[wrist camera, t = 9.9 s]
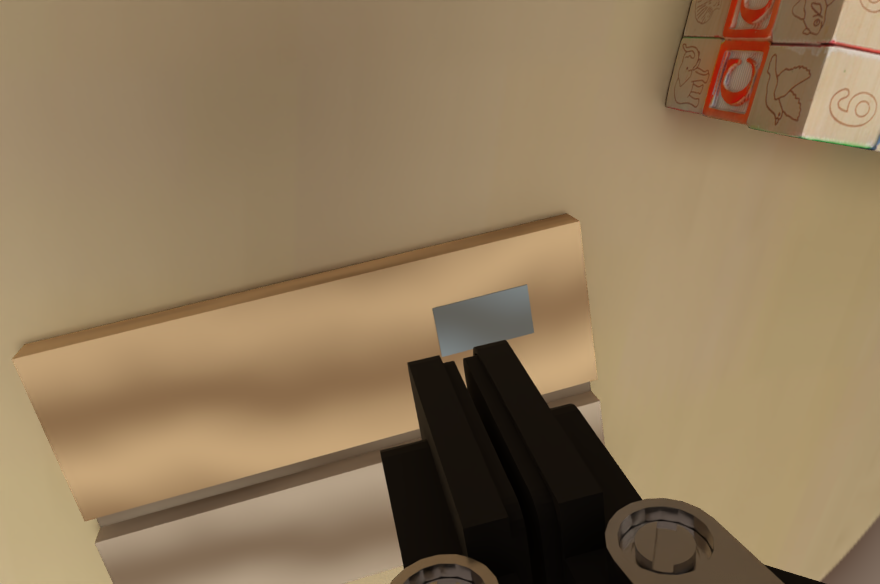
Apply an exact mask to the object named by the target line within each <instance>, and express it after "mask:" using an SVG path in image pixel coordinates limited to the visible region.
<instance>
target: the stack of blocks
mask: <svg viewBox="0 0 880 584" xmlns="http://www.w3.org/2000/svg"><path fill="white" fill-rule="evenodd" d="M666 107H668V108H672V109H676V110H681V111H687V112H692V113H698V114H703V116H706V117H711V118H716V119H721V120H726V121H731V122H736V123H741V124H746V125H748V127H749V128H752V129H756V130H761V131H766V132H771V133H776V134H781V135H785V136H790V137H796V138H801V139H807V140H814V141H820V142H826V143H833V144H840V145H845V146H851V147H856V148H861V149H866V150H871V151H876V152H880V0H692V4H691V7H690V11H689V15H688V19H687V23H686V27H685V31H684V37H683V39H682V40H681V43H680V47H679V51H678V55H677V59H676V63H675V67H674V71H673V75H672V79H671V82H670V87H669V91H668V96H667V102H666Z"/></svg>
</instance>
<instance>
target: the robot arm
mask: <svg viewBox="0 0 880 584" xmlns="http://www.w3.org/2000/svg"><path fill="white" fill-rule="evenodd" d="M407 365H408V372H409V377H410V382H411V387H412V392H413V397H414V403H415V408H416V413H417V418H418V423H419V428H420V433H421V439H422V440H420V441H416V442H412V443H408V444H404V445H400V446H396V447H392V448H388V449H384V450H380V454H381V459H382V464H383V469H384V474H385V479H386V484H387V489H388V494H389V498H390V503H391V508H392V513H393V518H394V523H395V528H396V532H397V537H398V542H399V547H400V552H401V557H402V562H403V566H404V570H402V571H401V572H400V573H399V574H398V575H397V576H396V577H395V578H394V579H393V580H392V582H391V583H390V584H825V583H822V582H819V581H815V580H812V579H809V578H806V577H803V576H799V575H796V574H793V573H790V572H786V571H783V570H780V569H777V568H773V567H770V566H767V565H764V564H763V563H761V562H760V561H759V560H758V559H757V558H756V557H755V556H754V555H753V554H752V553H751V552H750V551H749V550H747V549H746V548H745V547H744V546H743V545H742V544H741V543H740V542H739V541H738V540H737V539H736V538H734V537H733V536H732V535H731V534H730V533H729V532H728V531H727V530H726V529H725V528H724V527H723V526H721V525H720V524H719V523H718V522H717V521H716V520H715V519H714V518H713V517H711V516H710V515H708V514H707V513H706V512H704V511H703V510H701V509H700V508H698V507H695V506H693V505H690V504H688V503H685V502H683V501H677V500H672V499H666V498H657V499H644V500H642V499H641V497H640V496H639V494H638V493H637V492H636V490H635V489H634V487H633V486H632V484H631V483H630V482H629V480H628V479H627V477H626V476H625V475H624V473H623V472H622V470H621V469H620V467H619V466H618V465H617V463H616V462H615V460H614V459H613V457H612V456H611V455H610V453H609V452H608V450H607V449H606V447H605V446H604V445H603V443H602V442H601V440H600V439H599V438H598V436H597V435H596V433H595V432H594V430H593V429H592V428H591V426H590V425H589V423H588V422H587V420H586V419H585V418H584V416H583V415H582V413H581V412H580V410H579V409H578V408H577V407H576V406H575V405H574V404H571V403H570V404H566V405H562V406H558V407H554V408H549V406H548V405H547V403H546V401H545V400H544V398H543V397H542V395H541V394H540V392H539V390H538V389H537V387H536V386H535V384H534V383H533V381H532V379H531V378H530V376H529V375H528V373H527V371H526V370H525V368H524V367H523V365H522V364H521V362H520V360H519V359H518V357H517V356H516V354H515V353H514V351H513V349H512V348H511V346H510V345H509V343H508V342H507V341H506V340H502V341H497V342H493V343H489V344H484V345H480V346H476V347H474V348H473V356H471V357H467V358H463V366H464V373H465V379H466V385H465V383H464V381H463V379H462V377H461V374H460V372H459V370H458V368H457V366H456V364H455V362H454V361H449V362H445V363H443V362H442V359H441V357H440V355H437V356H433V357H429V358H424V359H420V360H416V361H411V362H407ZM466 386H467V388H466Z"/></svg>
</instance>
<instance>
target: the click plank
mask: <svg viewBox="0 0 880 584" xmlns="http://www.w3.org/2000/svg"><path fill="white" fill-rule="evenodd" d="M502 340H506V341H507V342H508V343H509V345H510V346H511V348H512V349H513V351H514V353H515V354H516V356H517V357H518V359H519V360H520V362H521V364H522V365H523V367H524V368H525V370H526V371H527V373H528V375H529V376H530V378H531V379H532V381H533V383H534V384H535V386H536V387H537V389H538V390H539V392H540V394H541V395H543V394H546V393H550V392H554V391H557V390H561V389H564V388H568V387H572V386H575V385H579V384H583V383H586V382H590V381H593V380H597V379H598V378H597V369H596V360H595V351H594V342H593V334H592V325H591V316H590V307H589V298H588V290H587V281H586V272H585V263H584V254H583V245H582V237H581V228H580V221H579V220H577V219H575V218H573V217H572V216H570V215H568V214H563V215H559V216H555V217H550V218H546V219H542V220H538V221H534V222H530V223H526V224H521V225H517V226H513V227H509V228H505V229H501V230H496V231H492V232H488V233H484V234H480V235H476V236H472V237H467V238H463V239H459V240H455V241H451V242H447V243H443V244H438V245H434V246H430V247H426V248H422V249H418V250H414V251H409V252H405V253H401V254H397V255H393V256H389V257H385V258H380V259H376V260H372V261H368V262H364V263H360V264H356V265H351V266H347V267H343V268H339V269H335V270H331V271H326V272H322V273H318V274H314V275H310V276H306V277H302V278H297V279H293V280H289V281H285V282H281V283H277V284H273V285H268V286H264V287H260V288H256V289H252V290H248V291H244V292H239V293H235V294H231V295H227V296H223V297H219V298H215V299H210V300H206V301H202V302H198V303H194V304H190V305H186V306H181V307H177V308H173V309H169V310H165V311H161V312H157V313H152V314H148V315H144V316H140V317H136V318H132V319H127V320H123V321H119V322H115V323H111V324H107V325H103V326H98V327H94V328H90V329H86V330H82V331H78V332H74V333H69V334H65V335H61V336H57V337H53V338H49V339H45V340H40V341H36V342H32V343H28V344H25V345H24V346H23V347H22V348H21V349H20V350H19V352H18V353H17V354H16V355H15V356H14V358H13V359H12V361H13V363H14V365H15V367H16V370H17V372H18V374H19V376H20V378H21V381H22V383H23V385H24V387H25V390H26V392H27V394H28V396H29V399H30V401H31V403H32V405H33V407H34V410H35V412H36V414H37V416H38V419H39V421H40V423H41V425H42V427H43V430H44V432H45V434H46V436H47V439H48V441H49V443H50V445H51V447H52V450H53V452H54V454H55V456H56V459H57V461H58V463H59V465H60V467H61V470H62V472H63V474H64V476H65V479H66V481H67V483H68V485H69V487H70V490H71V492H72V494H73V496H74V499H75V501H76V503H77V505H78V507H79V510H80V512H81V514H82V516H83V519H84V521H88V520H92V519H95V518H99V517H102V516H106V515H110V514H113V513H117V512H120V511H124V510H128V509H131V508H135V507H138V506H142V505H146V504H149V503H153V502H157V501H160V500H164V499H167V498H171V497H175V496H178V495H182V494H185V493H189V492H193V491H196V490H200V489H203V488H207V487H211V486H214V485H218V484H221V483H225V482H229V481H232V480H236V479H240V478H243V477H247V476H250V475H254V474H258V473H261V472H265V471H268V470H272V469H276V468H279V467H283V466H286V465H290V464H294V463H297V462H301V461H305V460H308V459H312V458H315V457H319V456H323V455H326V454H330V453H333V452H337V451H341V450H344V449H348V448H351V447H355V446H359V445H362V444H366V443H370V442H373V441H377V440H380V439H384V438H388V437H391V436H395V435H398V434H402V433H406V432H409V431H413V430H416V429H420V428H419V423H418V418H417V413H416V408H415V403H414V397H413V392H412V387H411V382H410V377H409V372H408V365H407V362H411V361H416V360H420V359H424V358H429V357H433V356H437V355H440V357H441V359H442V362H443V363H445V362H449V361H454V362H455V364H456V366H457V368H458V370H459V372H460V374H461V377H462V379H463V381H464V383H465V385H466V379H465V373H464V366H463V358H467V357H471V356H473V348H474V347H476V346H480V345H484V344H489V343H493V342H497V341H502ZM466 388H467V386H466Z"/></svg>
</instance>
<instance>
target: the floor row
mask: <svg viewBox="0 0 880 584" xmlns="http://www.w3.org/2000/svg"><path fill="white" fill-rule="evenodd" d="M542 397H543V398H544V400H545V401H546V403H547V405H548V406H549V408H554V407H558V406H562V405H566V404H570V403H571V404H574V405H575V406H576V407H577V408H578V409H579V410H580V412H581V413H582V415H583V416H584V418H585V419H586V420H587V422H588V423H589V425H590V426H591V428H592V429H593V430H594V432H595V433H596V435H597V436H598V438H599V439H600V440H601V442H602V443H603V445H604V446H605V443H604V434H603V424H602V415H601V406H600V400H599V399H598V398H597V397H596V396H595V395H594V394H593V393H592V391H591V388H590V382H586V383H583V384H579V385H575V386H572V387H568V388H564V389H561V390H557V391H554V392H550V393H546V394H543V395H542ZM420 440H422V439H421V433H420V429H416V430H413V431H409V432H406V433H402V434H398V435H395V436H391V437H388V438H384V439H380V440H377V441H373V442H370V443H366V444H362V445H359V446H355V447H351V448H348V449H344V450H341V451H337V452H333V453H330V454H326V455H323V456H319V457H315V458H312V459H308V460H305V461H301V462H297V463H294V464H290V465H286V466H283V467H279V468H276V469H272V470H268V471H265V472H261V473H258V474H254V475H250V476H247V477H243V478H240V479H236V480H232V481H229V482H225V483H221V484H218V485H214V486H211V487H207V488H203V489H200V490H196V491H193V492H189V493H185V494H182V495H178V496H175V497H171V498H167V499H164V500H160V501H157V502H153V503H149V504H146V505H142V506H138V507H135V508H131V509H128V510H124V511H120V512H117V513H113V514H110V515H106V516H102V517H99V518H97V521H98V523H99V525H100V530H99V533H98V536H97V539H96V541H95V545H96V547H97V549H98V551H99V553H100V556H101V558H102V560H103V562H104V564H105V566H106V569H107V571H108V573H109V575H110V577H111V580H112V582H113V584H344V583H348V582H351V581H354V580H357V579H361V578H364V577H367V576H371V575H374V574H377V573H381V572H384V571H387V570H390V569H394V568H397V567H400V566H403V562H402V557H401V552H400V547H399V542H398V537H397V532H396V528H395V523H394V518H393V513H392V508H391V503H390V498H389V494H388V489H387V484H386V479H385V474H384V469H383V464H382V459H381V454H380V450H384V449H388V448H392V447H396V446H400V445H404V444H408V443H412V442H416V441H420Z"/></svg>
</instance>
